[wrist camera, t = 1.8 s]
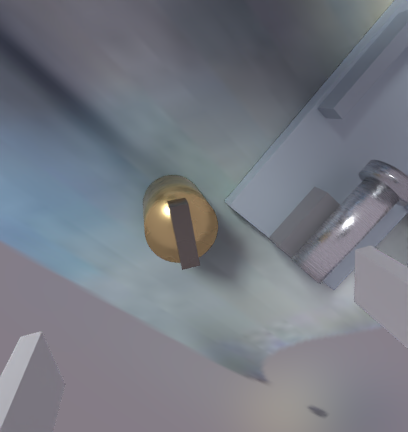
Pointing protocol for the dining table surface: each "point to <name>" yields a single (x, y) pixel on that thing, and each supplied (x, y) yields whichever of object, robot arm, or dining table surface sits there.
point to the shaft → (353, 219)
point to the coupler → (178, 221)
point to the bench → (335, 145)
